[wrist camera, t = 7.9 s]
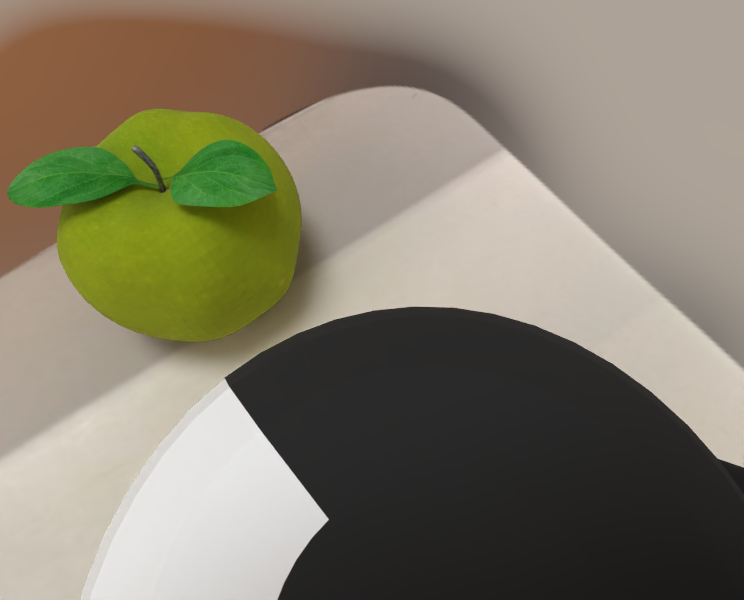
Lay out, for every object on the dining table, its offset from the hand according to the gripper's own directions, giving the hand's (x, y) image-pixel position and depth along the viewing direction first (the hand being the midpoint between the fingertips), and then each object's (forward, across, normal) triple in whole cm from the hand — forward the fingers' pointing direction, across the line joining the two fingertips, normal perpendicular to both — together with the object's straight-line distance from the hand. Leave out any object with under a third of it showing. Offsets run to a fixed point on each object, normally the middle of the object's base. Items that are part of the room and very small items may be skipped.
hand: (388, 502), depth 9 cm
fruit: (+19, +5, 0) cm, 19 cm away
